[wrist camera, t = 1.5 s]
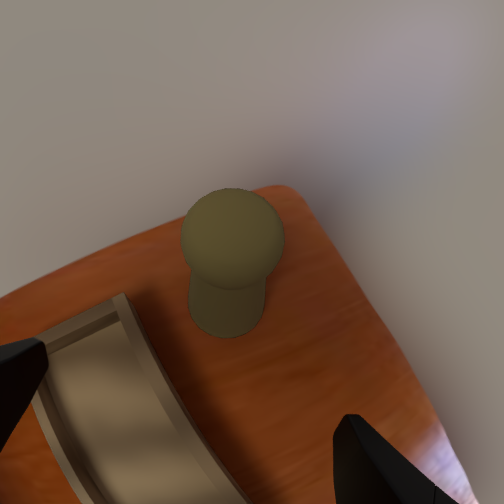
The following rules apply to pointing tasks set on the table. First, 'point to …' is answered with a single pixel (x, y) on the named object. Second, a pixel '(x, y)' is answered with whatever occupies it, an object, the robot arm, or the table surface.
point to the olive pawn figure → (230, 259)
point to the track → (123, 416)
